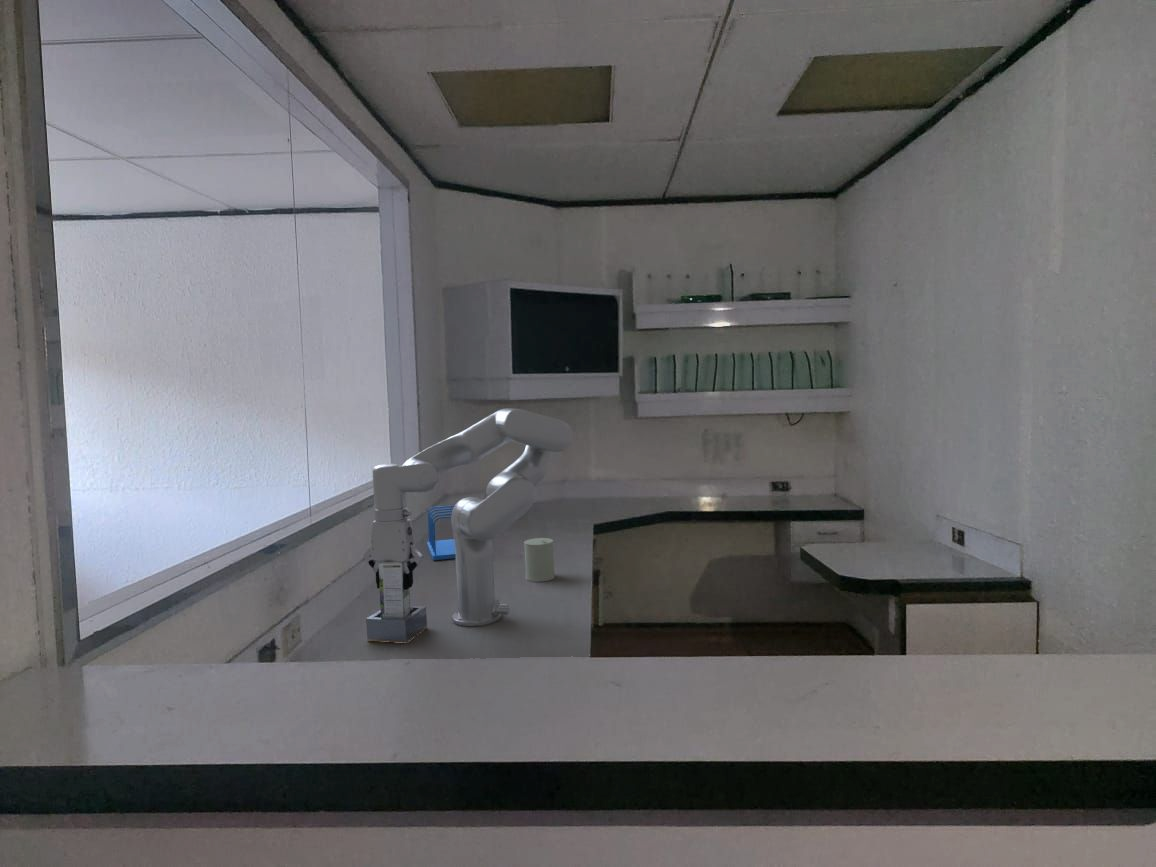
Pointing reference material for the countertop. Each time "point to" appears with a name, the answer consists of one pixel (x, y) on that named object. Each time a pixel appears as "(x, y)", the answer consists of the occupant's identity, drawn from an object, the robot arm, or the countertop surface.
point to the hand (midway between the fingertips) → (394, 586)
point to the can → (539, 559)
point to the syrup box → (393, 591)
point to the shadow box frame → (396, 626)
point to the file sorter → (441, 547)
